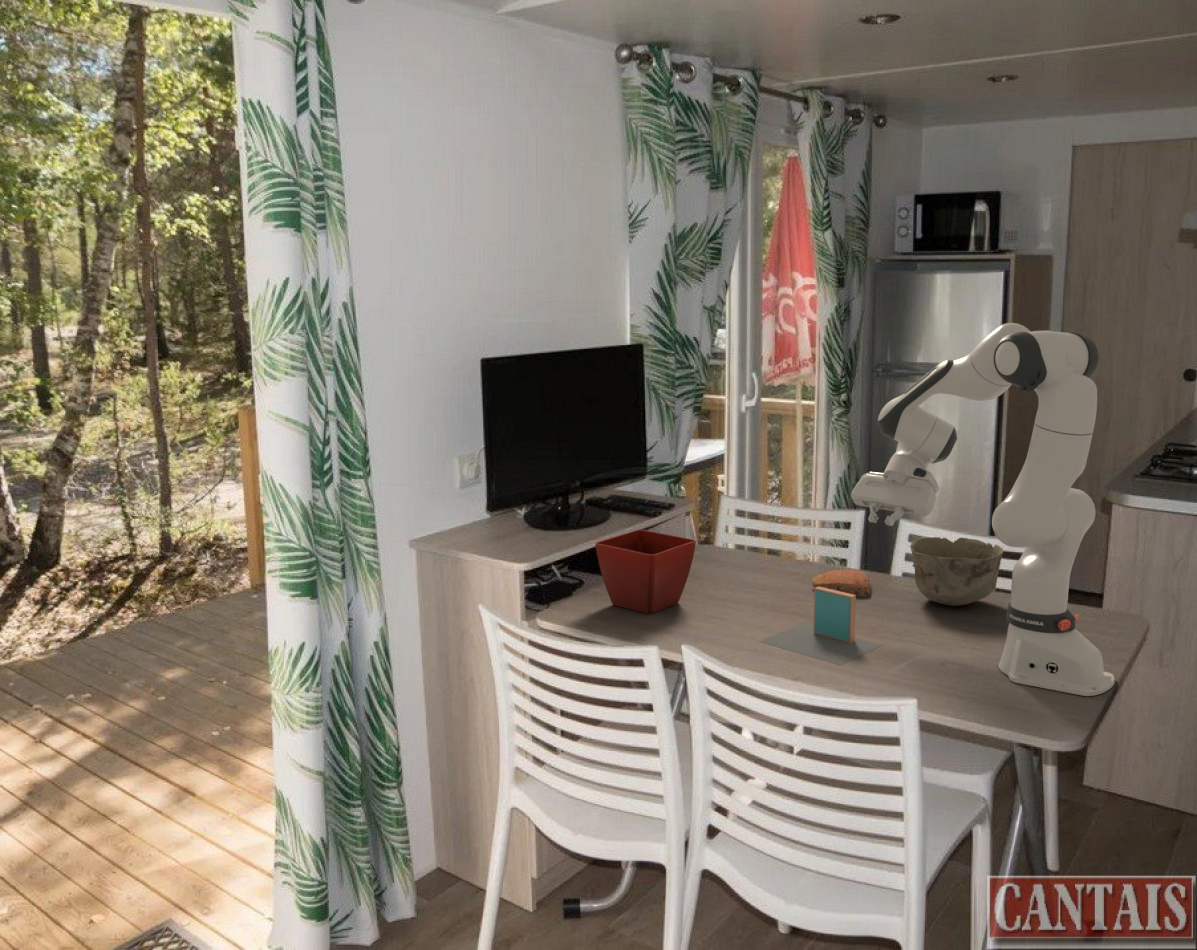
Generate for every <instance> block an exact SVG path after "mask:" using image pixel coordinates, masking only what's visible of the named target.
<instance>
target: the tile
mask: <svg viewBox="0 0 1197 950" xmlns="http://www.w3.org/2000/svg"><path fill="white" fill-rule="evenodd" d="M813 599H814V601H813V607H814V608H813V627H814V633H815V634H819V635H823V636H826V637H830V638H834V639H837V640H841V641H845V642H849V643H852V642H854V641H855V638H856V637H855V636H856V609H857V607H856V606H857V596H856V595H853V594H849V593H845V592H840V591H836V590H832V589H827V588H823V587H816V588H815V587H814V598H813Z"/></svg>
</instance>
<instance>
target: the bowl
mask: <svg viewBox="0 0 1197 950" xmlns="http://www.w3.org/2000/svg"><path fill="white" fill-rule="evenodd" d="M909 547H910V551H911V556H912V561H913V565H912V567H913V568H914V581H915V584H916V588H918V590H919V592H920V594H922V595H923V596H924V597H926V598H927V599H928V600H930V601H932V602H935V603H937V604H941V605H945V606H949V607H950V606H951V607H959V606H964V605H965V606H966V605H968V604H971V603H975V602H977V601H980V600H982V599H984V598H987V597H988V596H989V595H991V593H993V592H994V591H995V589H996V587H997V583H998V578H999V571H1000V566H1001V564H1002V563H1001V561H1002V558H1003V556H1004V548H1003V547H1001V546H999V545H997V544H994V546H993V545H992V543H990V542H984V541H982V540H979V539H975V538H966V537H959V538H956V540H954V541H951V540H949V539H948V538H947V537H942V538H941V537H940V536H938V537H937V536H936V537H935V536H934V537H931V536H930V537H922V538H917V539H914V540H913V541H912V542H911V543H910V545H909Z"/></svg>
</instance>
